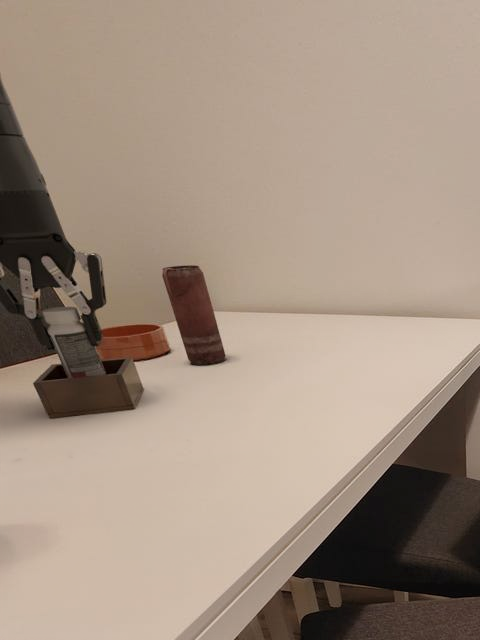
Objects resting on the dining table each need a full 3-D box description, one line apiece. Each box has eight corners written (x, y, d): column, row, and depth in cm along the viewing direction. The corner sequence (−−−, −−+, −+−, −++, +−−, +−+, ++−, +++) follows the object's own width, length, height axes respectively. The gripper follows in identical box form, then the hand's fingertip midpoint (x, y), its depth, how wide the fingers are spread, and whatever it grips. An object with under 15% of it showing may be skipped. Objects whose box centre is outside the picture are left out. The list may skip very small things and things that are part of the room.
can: (180, 364, 101) (150, 268, 92) (207, 355, 105) (180, 263, 96) (208, 367, 99) (179, 269, 90) (233, 358, 103) (208, 264, 95)
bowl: (92, 365, 101) (82, 340, 99) (104, 350, 111) (95, 327, 108) (167, 358, 104) (159, 333, 102) (173, 344, 113) (165, 321, 111)
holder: (49, 418, 78) (32, 383, 76) (66, 397, 86) (51, 364, 84) (134, 408, 81) (121, 374, 78) (143, 389, 89) (132, 356, 86)
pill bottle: (114, 374, 82) (88, 306, 77) (84, 383, 79) (54, 313, 74) (91, 371, 84) (63, 305, 79) (60, 380, 81) (30, 311, 75)
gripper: (-75, 189, 64) (7, 358, 75) (70, 185, 67) (129, 347, 78) (-50, 189, 70) (23, 346, 80) (83, 185, 73) (136, 336, 84)
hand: (75, 346), depth 79 cm, fingers closed on pill bottle, 4 cm apart
